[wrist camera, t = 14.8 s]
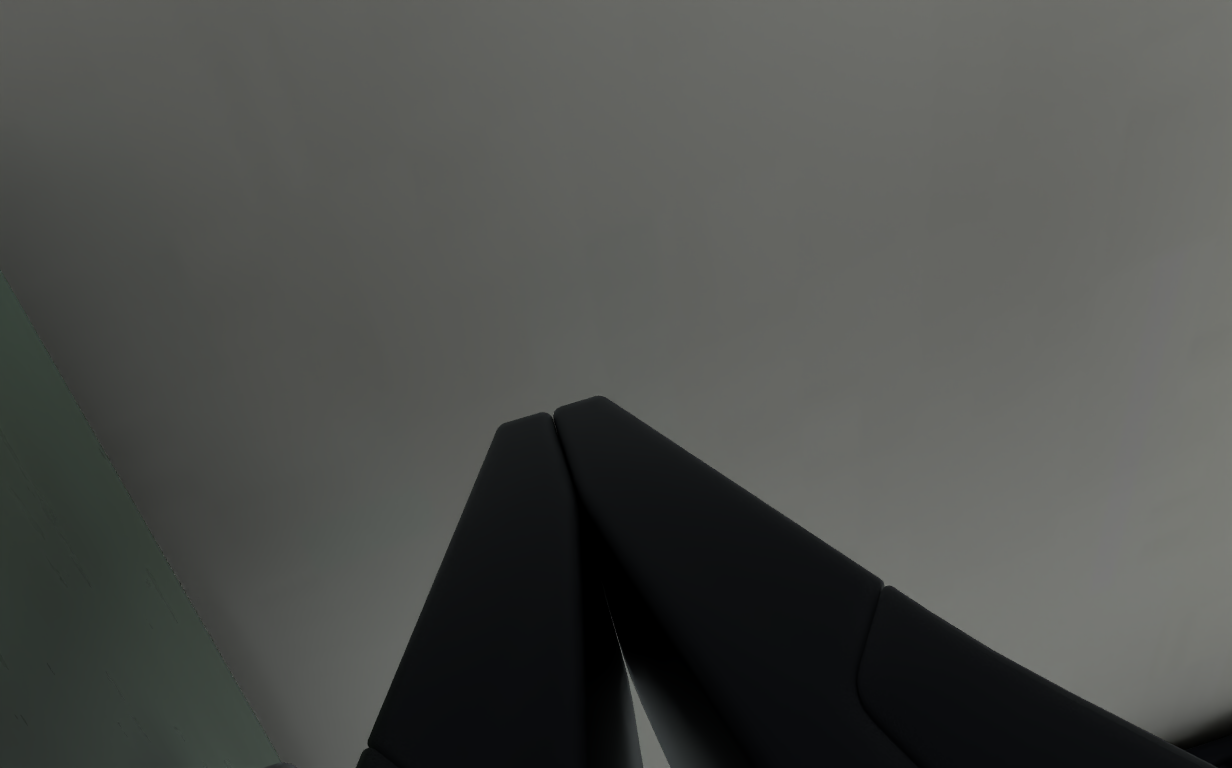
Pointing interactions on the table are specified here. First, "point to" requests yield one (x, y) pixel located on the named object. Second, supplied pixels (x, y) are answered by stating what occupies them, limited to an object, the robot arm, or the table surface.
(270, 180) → the table surface
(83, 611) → the drawer
